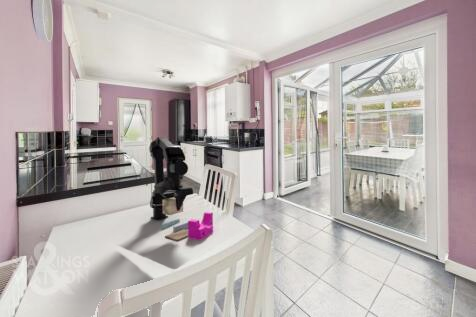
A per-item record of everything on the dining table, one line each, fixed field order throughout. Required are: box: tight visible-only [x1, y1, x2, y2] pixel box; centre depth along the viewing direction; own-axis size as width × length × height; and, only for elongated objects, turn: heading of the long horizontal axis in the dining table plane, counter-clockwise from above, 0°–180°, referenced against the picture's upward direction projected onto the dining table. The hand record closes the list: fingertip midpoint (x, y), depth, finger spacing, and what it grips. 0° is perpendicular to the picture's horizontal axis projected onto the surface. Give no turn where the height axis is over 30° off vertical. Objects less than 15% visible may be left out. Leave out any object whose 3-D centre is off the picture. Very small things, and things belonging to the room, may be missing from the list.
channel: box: [160, 218, 188, 233], centre depth 103 cm, size 10×10×2 cm
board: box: [164, 228, 188, 242], centre depth 93 cm, size 8×10×1 cm
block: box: [162, 197, 184, 216], centre depth 92 cm, size 5×7×6 cm
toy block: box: [187, 211, 214, 241], centre depth 95 cm, size 15×6×8 cm, turn 159°
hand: (174, 209), depth 92 cm, fingers closed on block, 5 cm apart
